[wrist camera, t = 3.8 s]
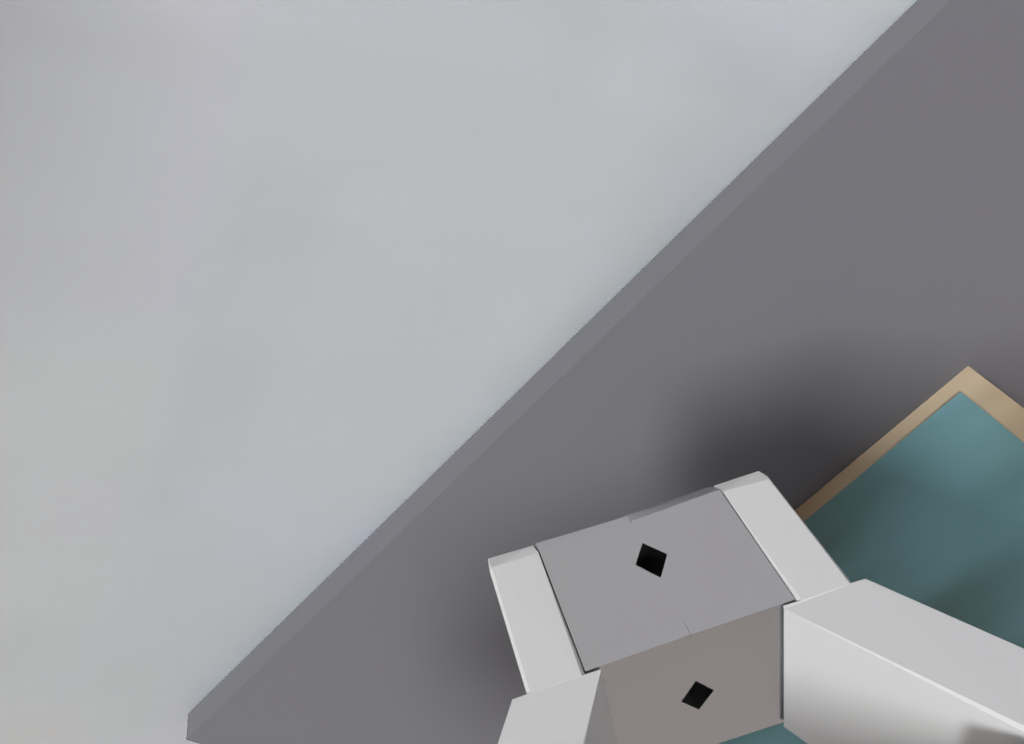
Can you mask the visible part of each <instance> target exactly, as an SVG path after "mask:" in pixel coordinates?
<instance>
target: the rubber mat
mask: <svg viewBox="0 0 1024 744" xmlns="http://www.w3.org/2000/svg"><path fill="white" fill-rule="evenodd" d="M967 366H969V367H971V368H972V369H973V370H975V371H976V372H977V373H978V374H980V375H981V376H982V377H984V378H985V379H986V380H988V381H989V382H990V383H991V384H993V385H994V386H995V387H997V388H998V389H999V390H1001V391H1002V392H1003V393H1005V394H1006V395H1007V396H1008V397H1010V398H1011V399H1012V400H1014V401H1015V402H1016V403H1018V404H1019V405H1020V406H1021V407H1023V408H1024V0H918V1H917V2H916V3H915V4H914V5H913V6H912V7H911V8H910V9H908V10H907V11H906V12H905V13H904V14H903V15H902V16H901V17H900V18H899V19H898V20H897V21H896V22H895V23H894V24H893V25H892V26H891V27H890V28H889V29H888V30H887V31H886V32H885V33H884V34H883V35H882V36H881V37H880V38H879V39H878V40H877V41H876V42H875V43H874V44H873V45H872V46H871V47H870V48H869V49H868V50H867V51H866V52H865V53H864V54H862V55H861V56H860V57H859V58H858V59H857V60H856V61H855V62H854V63H853V64H852V65H851V66H850V67H849V68H848V69H847V70H846V71H845V72H844V73H843V74H842V75H841V76H840V77H839V78H838V79H837V80H836V81H835V82H834V83H833V84H832V85H831V86H830V87H829V88H828V89H827V90H826V91H825V92H824V93H823V94H822V95H821V96H820V97H819V98H818V99H816V100H815V101H814V102H813V103H812V104H811V105H810V106H809V107H808V108H807V109H806V110H805V111H804V112H803V113H802V114H801V115H800V116H799V117H798V118H797V119H796V120H795V121H794V122H793V123H792V124H791V125H790V126H789V127H788V128H787V129H786V130H785V131H784V132H783V133H782V134H781V135H780V136H779V137H778V138H777V139H776V140H775V141H774V142H773V143H772V144H771V145H769V146H768V147H767V148H766V149H765V150H764V151H763V152H762V153H761V154H760V155H759V156H758V157H757V158H756V159H755V160H754V161H753V162H752V163H751V164H750V165H749V166H748V167H747V168H746V169H745V170H744V171H743V172H742V173H741V174H740V175H739V176H738V177H737V178H736V179H735V180H734V181H733V182H732V183H731V184H730V185H729V186H728V187H727V188H726V189H725V190H723V191H722V192H721V193H720V194H719V195H718V196H717V197H716V198H715V199H714V200H713V201H712V202H711V203H710V204H709V205H708V206H707V207H706V208H705V209H704V210H703V211H702V212H701V213H700V214H699V215H698V216H697V217H696V218H695V219H694V220H693V221H692V222H691V223H690V224H689V225H688V226H687V227H686V228H685V229H684V230H683V231H682V232H681V233H680V234H679V235H677V236H676V237H675V238H674V239H673V240H672V241H671V242H670V243H669V244H668V245H667V246H666V247H665V248H664V249H663V250H662V251H661V252H660V253H659V254H658V255H657V256H656V257H655V258H654V259H653V260H652V261H651V262H650V263H649V264H648V265H647V266H646V267H645V268H644V269H643V270H642V271H641V272H640V273H639V274H638V275H637V276H636V277H635V278H634V279H633V280H631V281H630V282H629V283H628V284H627V285H626V286H625V287H624V288H623V289H622V290H621V291H620V292H619V293H618V294H617V295H616V296H615V297H614V298H613V299H612V300H611V301H610V302H609V303H608V304H607V305H606V306H605V307H604V308H603V309H602V310H601V311H600V312H599V313H598V314H597V315H596V316H595V317H594V318H593V319H592V320H591V321H590V322H589V323H588V324H587V325H585V326H584V327H583V328H582V329H581V330H580V331H579V332H578V333H577V334H576V335H575V336H574V337H573V338H572V339H571V340H570V341H569V342H568V343H567V344H566V345H565V346H564V347H563V348H562V349H561V350H560V351H559V352H558V353H557V354H556V355H555V356H554V357H553V358H552V359H551V360H550V361H549V362H548V363H547V364H546V365H545V366H544V367H543V368H542V369H541V370H539V371H538V372H537V373H536V374H535V375H534V376H533V377H532V378H531V379H530V380H529V381H528V382H527V383H526V384H525V385H524V386H523V387H522V388H521V389H520V390H519V391H518V392H517V393H516V394H515V395H514V396H513V397H512V398H511V399H510V400H509V401H508V402H507V403H506V404H505V405H504V406H503V407H502V408H501V409H500V410H499V411H498V412H497V413H496V414H495V415H494V416H492V417H491V418H490V419H489V420H488V421H487V422H486V423H485V424H484V425H483V426H482V427H481V428H480V429H479V430H478V431H477V432H476V433H475V434H474V435H473V436H472V437H471V438H470V439H469V440H468V441H467V442H466V443H465V444H464V445H463V446H462V447H461V448H460V449H459V450H458V451H457V452H456V453H455V454H454V455H453V456H452V457H451V458H450V459H449V460H448V461H446V462H445V463H444V464H443V465H442V466H441V467H440V468H439V469H438V470H437V471H436V472H435V473H434V474H433V475H432V476H431V477H430V478H429V479H428V480H427V481H426V482H425V483H424V484H423V485H422V486H421V487H420V488H419V489H418V490H417V491H416V492H415V493H414V494H413V495H412V496H411V497H410V498H409V499H408V500H407V501H406V502H405V503H404V504H403V505H402V506H400V507H399V508H398V509H397V510H396V511H395V512H394V513H393V514H392V515H391V516H390V517H389V518H388V519H387V520H386V521H385V522H384V523H383V524H382V525H381V526H380V527H379V528H378V529H377V530H376V531H375V532H374V533H373V534H372V535H371V536H370V537H369V538H368V539H367V540H366V541H365V542H364V543H363V544H362V545H361V546H360V547H359V548H358V549H357V550H356V551H354V552H353V553H352V554H351V555H350V556H349V557H348V558H347V559H346V560H345V561H344V562H343V563H342V564H341V565H340V566H339V567H338V568H337V569H336V570H335V571H334V572H333V573H332V574H331V575H330V576H329V577H328V578H327V579H326V580H325V581H324V582H323V583H322V584H321V585H320V586H319V587H318V588H317V589H316V590H315V591H314V592H313V593H312V594H311V595H310V596H308V597H307V598H306V599H305V600H304V601H303V602H302V603H301V604H300V605H299V606H298V607H297V608H296V609H295V610H294V611H293V612H292V613H291V614H290V615H289V616H288V617H287V618H286V619H285V620H284V621H283V622H282V623H281V624H280V625H279V626H278V627H277V628H276V629H275V630H274V631H273V632H272V633H271V634H270V635H269V636H268V637H267V638H266V639H265V640H264V641H262V642H261V643H260V644H259V645H258V646H257V647H256V648H255V649H254V650H253V651H252V652H251V653H250V654H249V655H248V656H247V657H246V658H245V659H244V660H243V661H242V662H241V663H240V664H239V665H238V666H237V667H236V668H235V669H234V670H233V671H232V672H231V673H230V674H229V675H228V676H227V677H226V678H225V679H224V680H223V681H222V682H221V683H220V684H219V685H218V686H216V687H215V688H214V689H213V690H212V691H211V692H210V693H209V694H208V695H207V696H206V697H205V698H204V699H203V700H202V701H201V702H200V703H199V704H198V705H197V706H196V707H195V708H194V709H193V710H192V711H191V712H190V713H189V714H188V726H187V738H186V740H189V741H193V742H196V743H199V744H498V741H499V738H500V735H501V732H502V729H503V726H504V723H505V720H506V717H507V714H508V711H509V708H510V705H511V702H512V699H514V698H517V697H520V696H522V695H525V694H527V693H526V690H525V687H524V683H523V680H522V677H521V673H520V670H519V667H518V663H517V660H516V657H515V653H514V650H513V647H512V644H511V640H510V637H509V634H508V630H507V627H506V624H505V620H504V617H503V614H502V611H501V607H500V604H499V601H498V597H497V594H496V591H495V587H494V584H493V581H492V577H491V574H490V570H489V564H488V558H492V557H495V556H498V555H502V554H505V553H508V552H512V551H515V550H518V549H522V548H525V547H528V546H532V545H534V546H535V543H539V542H542V541H546V540H549V539H552V538H556V537H559V536H562V535H566V534H569V533H572V532H576V531H579V530H582V529H586V528H589V527H592V526H596V525H599V524H602V523H606V522H609V521H612V520H616V519H619V518H622V517H624V516H625V515H628V514H631V513H634V512H637V511H640V510H643V509H646V508H649V507H652V506H655V505H658V504H661V503H664V502H666V501H669V500H672V499H675V498H678V497H681V496H684V495H687V494H690V493H693V492H696V491H699V490H702V489H705V488H708V487H712V488H713V487H714V486H715V485H718V484H721V483H724V482H727V481H730V480H733V479H736V478H739V477H742V476H745V475H748V474H751V473H754V472H757V471H759V472H761V473H763V474H765V475H767V476H768V477H769V478H770V480H771V481H772V482H773V483H774V485H775V486H776V487H777V489H778V490H779V491H780V492H781V494H782V495H783V496H784V497H785V499H786V500H787V501H788V503H789V504H790V505H791V506H792V508H793V509H794V510H796V509H797V508H799V507H800V506H801V505H802V504H803V503H805V502H806V501H807V500H808V499H809V498H811V497H812V496H813V495H814V494H815V493H816V492H818V491H819V490H820V489H821V488H822V487H824V486H825V485H826V484H827V483H828V482H830V481H831V480H832V479H833V478H834V477H836V476H837V475H838V474H839V473H840V472H842V471H843V470H844V469H845V468H846V467H848V466H849V465H850V464H851V463H852V462H854V461H855V460H856V459H857V458H858V457H860V456H861V455H862V454H863V453H864V452H866V451H867V450H868V449H869V448H870V447H872V446H873V445H874V444H875V443H876V442H878V441H879V440H880V439H881V438H882V437H884V436H885V435H886V434H887V433H888V432H890V431H891V430H892V429H893V428H894V427H896V426H897V425H898V424H899V423H900V422H901V421H903V420H904V419H905V418H906V417H907V416H909V415H910V414H911V413H912V412H913V411H915V410H916V409H917V408H918V407H919V406H921V405H922V404H923V403H924V402H925V401H927V400H928V399H929V398H930V397H931V396H933V395H934V394H935V393H936V392H937V391H939V390H940V389H941V388H942V387H943V386H945V385H946V384H947V383H948V382H949V381H951V380H952V379H953V378H954V377H955V376H957V375H958V374H959V373H960V372H961V371H963V370H964V369H965V368H966V367H967Z"/></svg>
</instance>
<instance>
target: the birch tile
mask: <svg viewBox="0 0 1024 744" xmlns="http://www.w3.org/2000/svg"><path fill="white" fill-rule="evenodd" d="M795 512H796V513H797V514H798V515H799V517H800V518H801V519H802V520H803V522H804V523H805V524H806V526H807V527H808V528H809V529H810V531H811V532H812V533H813V534H814V536H815V537H816V538H817V540H818V541H819V542H820V543H821V545H822V546H823V547H824V549H825V550H826V551H827V552H828V554H829V555H830V556H831V557H832V559H833V560H834V561H835V563H836V564H837V565H838V566H839V568H840V569H841V570H842V571H843V573H844V574H845V575H846V577H847V578H848V579H849V580H850V582H851V583H852V582H855V581H858V580H862V579H865V578H866V579H868V580H870V581H873V582H875V583H877V584H879V585H882V586H884V587H886V588H888V589H891V590H893V591H895V592H897V593H900V594H902V595H904V596H906V597H909V598H911V599H913V600H916V601H918V602H920V603H922V604H925V605H927V606H929V607H931V608H934V609H936V610H938V611H940V612H943V613H945V614H947V615H949V616H952V617H954V618H956V619H958V620H961V621H963V622H965V623H967V624H970V625H972V626H974V627H976V628H979V629H981V630H983V631H986V632H988V633H990V634H992V635H995V636H997V637H999V638H1001V639H1004V640H1006V641H1008V642H1010V643H1013V644H1015V645H1017V646H1019V647H1022V648H1024V408H1023V407H1021V406H1020V405H1019V404H1018V403H1016V402H1015V401H1014V400H1012V399H1011V398H1010V397H1008V396H1007V395H1006V394H1005V393H1003V392H1002V391H1001V390H999V389H998V388H997V387H995V386H994V385H993V384H991V383H990V382H989V381H988V380H986V379H985V378H984V377H982V376H981V375H980V374H978V373H977V372H976V371H975V370H973V369H972V368H971V367H969V366H967V367H966V368H965V369H964V370H963V371H961V372H960V373H959V374H958V375H957V376H955V377H954V378H953V379H952V380H951V381H949V382H948V383H947V384H946V385H945V386H943V387H942V388H941V389H940V390H939V391H937V392H936V393H935V394H934V395H933V396H931V397H930V398H929V399H928V400H927V401H925V402H924V403H923V404H922V405H921V406H919V407H918V408H917V409H916V410H915V411H913V412H912V413H911V414H910V415H909V416H907V417H906V418H905V419H904V420H903V421H901V422H900V423H899V424H898V425H897V426H896V427H894V428H893V429H892V430H891V431H890V432H888V433H887V434H886V435H885V436H884V437H882V438H881V439H880V440H879V441H878V442H876V443H875V444H874V445H873V446H872V447H870V448H869V449H868V450H867V451H866V452H864V453H863V454H862V455H861V456H860V457H858V458H857V459H856V460H855V461H854V462H852V463H851V464H850V465H849V466H848V467H846V468H845V469H844V470H843V471H842V472H840V473H839V474H838V475H837V476H836V477H834V478H833V479H832V480H831V481H830V482H828V483H827V484H826V485H825V486H824V487H822V488H821V489H820V490H819V491H818V492H816V493H815V494H814V495H813V496H812V497H811V498H809V499H808V500H807V501H806V502H805V503H803V504H802V505H801V506H800V507H799V508H797V509H796V510H795ZM718 744H808V743H806V742H805V741H803V740H802V739H800V738H799V737H798V736H796V735H795V734H793V733H792V732H791V731H789V730H788V729H786V728H785V727H784V722H783V723H780V724H776V725H773V726H770V727H767V728H764V729H761V730H758V731H755V732H752V733H749V734H746V735H743V736H740V737H736V738H733V739H730V740H727V741H724V742H721V743H718Z"/></svg>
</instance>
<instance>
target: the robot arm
mask: <svg viewBox="0 0 1024 744" xmlns="http://www.w3.org/2000/svg"><path fill="white" fill-rule="evenodd" d="M488 564H489V570H490V574H491V577H492V581H493V584H494V587H495V591H496V594H497V597H498V601H499V604H500V607H501V611H502V614H503V617H504V620H505V624H506V627H507V630H508V634H509V637H510V640H511V644H512V647H513V650H514V653H515V657H516V660H517V663H518V667H519V670H520V673H521V677H522V680H523V683H524V687H525V690H526V693H527V694H525V695H522V696H520V697H517V698H514V699H512V702H511V705H510V708H509V711H508V714H507V717H506V720H505V723H504V726H503V729H502V732H501V735H500V738H499V741H498V744H718V743H721V742H724V741H727V740H730V739H733V738H736V737H740V736H743V735H746V734H749V733H752V732H755V731H758V730H761V729H764V728H767V727H770V726H773V725H776V724H780V723H783V722H784V727H785V728H786V729H788V730H789V731H791V732H792V733H793V734H795V735H796V736H798V737H799V738H800V739H802V740H803V741H805V742H806V743H808V744H1024V648H1022V647H1019V646H1017V645H1015V644H1013V643H1010V642H1008V641H1006V640H1004V639H1001V638H999V637H997V636H995V635H992V634H990V633H988V632H986V631H983V630H981V629H979V628H976V627H974V626H972V625H970V624H967V623H965V622H963V621H961V620H958V619H956V618H954V617H952V616H949V615H947V614H945V613H943V612H940V611H938V610H936V609H934V608H931V607H929V606H927V605H925V604H922V603H920V602H918V601H916V600H913V599H911V598H909V597H906V596H904V595H902V594H900V593H897V592H895V591H893V590H891V589H888V588H886V587H884V586H882V585H879V584H877V583H875V582H873V581H870V580H868V579H866V578H865V579H862V580H858V581H855V582H852V583H851V582H850V580H849V579H848V578H847V577H846V575H845V574H844V573H843V571H842V570H841V569H840V568H839V566H838V565H837V564H836V563H835V561H834V560H833V559H832V557H831V556H830V555H829V554H828V552H827V551H826V550H825V549H824V547H823V546H822V545H821V543H820V542H819V541H818V540H817V538H816V537H815V536H814V534H813V533H812V532H811V531H810V529H809V528H808V527H807V526H806V524H805V523H804V522H803V520H802V519H801V518H800V517H799V515H798V514H797V513H796V512H795V510H794V509H793V508H792V506H791V505H790V504H789V503H788V501H787V500H786V499H785V497H784V496H783V495H782V494H781V492H780V491H779V490H778V489H777V487H776V486H775V485H774V483H773V482H772V481H771V480H770V478H769V477H768V476H767V475H765V474H763V473H761V472H759V471H757V472H754V473H751V474H748V475H745V476H742V477H739V478H736V479H733V480H730V481H727V482H724V483H721V484H718V485H715V486H714V487H713V488H712V487H708V488H705V489H702V490H699V491H696V492H693V493H690V494H687V495H684V496H681V497H678V498H675V499H672V500H669V501H666V502H664V503H661V504H658V505H655V506H652V507H649V508H646V509H643V510H640V511H637V512H634V513H631V514H628V515H625V516H624V517H622V518H619V519H616V520H612V521H609V522H606V523H602V524H599V525H596V526H592V527H589V528H586V529H582V530H579V531H576V532H572V533H569V534H566V535H562V536H559V537H556V538H552V539H549V540H546V541H542V542H539V543H535V546H534V545H532V546H528V547H525V548H522V549H518V550H515V551H512V552H508V553H505V554H502V555H498V556H495V557H492V558H488Z"/></svg>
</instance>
